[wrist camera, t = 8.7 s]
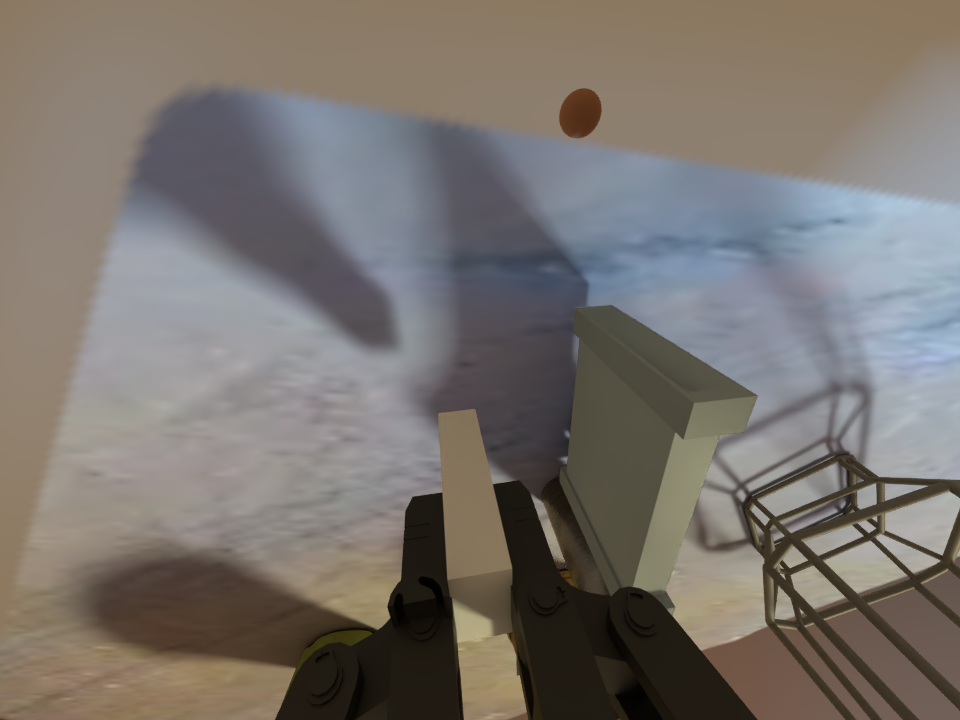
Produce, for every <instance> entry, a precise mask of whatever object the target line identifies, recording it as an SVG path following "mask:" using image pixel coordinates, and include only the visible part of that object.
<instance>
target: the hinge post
mask: <svg viewBox="0 0 960 720" xmlns="http://www.w3.org/2000/svg"><path fill="white" fill-rule="evenodd" d="M559 479H560V476H559V477H557V478H555V479H553V480H552V481H550V482H549V483H548V484H547V485H546V486H545V488H544V490H543V492H542V500H543V503H544V505H545V508H546V511H547V514H548V516H549V519H550V522H551V525H552V527H553V530H554V533H555V535H556V538H557V541H558V544H559V546H560V549H561V552H562V554H563V557H564V560H565V563H566V565H567V568H568V571H569V574H570V576H571V579H572V582H573V584H574V587H576V588H578V589H579V590H583V591H586V592H590V593H596V594H601V595H607V596H611V595H610V593H609V590H608V588H607V586H606V584H605V582H604V579H603V577H602V575H601V573H600V570H599V568H598V566H597V564H596V562H595V559H594V557H593V555H592V553H591V550H590V548H589V546H588V544H587V542H586V539H585V537H584V535H583V533H582V530H581V528H580V526H579V524H578V522H577V519H576V517H575V515H574V513H573V510H572V508H571V506H570V504H569V501H568V499H567V497H566V495H565V493H564V490H563V488H562V486H561V484H560V481H559Z"/></svg>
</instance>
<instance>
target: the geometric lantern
mask: <svg viewBox="0 0 960 720" xmlns="http://www.w3.org/2000/svg"><path fill="white" fill-rule="evenodd" d="M844 460H849V463H847V462H846V461H844ZM837 462H839V464H840V465H842V466H843V467H845V468H846V469H848V470H849V477H850V487H848V488H845V489H843V490H840V491H838V492H835V493H833V494H831V495H828V496H826V497H823V498H821V499H818V500H816V501H814V502H811V503H809V504H806V505H804V506H801V507H799V508H797V509H794V510H792V511H789V512H787V513H784V514H782V515H779V516H777V517H775V516H774V515H773V514H772V513H771V512H770V511H768V510H767V509H766V508H765V507H764V506H763V505H762V504H761V503H760V502H758V501H757V500H760V499H762V498H764V497H766V496H768V495H770V494H772V493H774V492H776V491H778V490H780V489H783V488H785V487H787V486H789V485H791V484H793V483H795V482H797V481H799V480H801V479H803V478H806V477H808V476H810V475H812V474H814V473H816V472H818V471H820V470H822V469H824V468H827V467H829V466H831V465H833V464H835V463H837ZM856 468H858V469H859V470H861V471H862V472H861V471H859V470H858V469H856ZM864 473H865V474H864ZM856 475H857V476H858V477H860V478H861V479H863V480H864V481H862V482H860V483H857V480H856ZM875 483H876V488H877V504H876V505H873V506H870V507H867V508H864V509H861V510H860V509H859V508H857V506H858V505H857V491H858V490H860V489H863V488H865V487H868V486H870V485H872V484H875ZM885 484H905V485H924V486H927V487H925V488H922V489H919V490H916V491H913V492H910V493H907V494H904V495H902V496H899V497H896V498H893V499H890V500H887V501H885ZM949 491H950V492H951V493H953V494H955V495H956V496H958V497H959V498H960V480H945V479H918V478H890V477H878V476H877V475H875V474H874V473H873V472H871V471H870V470H868V469H867V468H866V467H864V466H863V465H861V464H860V463H859V462H857V461H856V458H855V457H854V456H853V455H851V454H849V455H839V456H834V457H833V458H831V459H829V460H827V461H825V462H823V463H821V464H818V465H816V466H814V467H812V468H810V469H808V470H806V471H804V472H802V473H800V474H798V475H796V476H793V477H791V478H789V479H787V480H785V481H783V482H781V483H779V484H777V485H775V486H773V487H771V488H768V489H766V490H764V491H762V492H760V493H758V494H756V495H754V496H751V497H750V499H749V501H748V503H747V505H746V507H745V510H744V511H745V512H746V516H747V519H748V522H749V526H750V529H751V533H752V536H753V539H754V543H755V546H756V549H757V551H758V552H759V553H760V554H761V555H762V556H763V558H764V564H763V584H764V603H765V620H766V623H767V625H768V626H769V627H770V629H771V630H772V631H773V632H774V634H775V635H776V636H777V637H778V638H779V640H780V641H781V642H782V643H783V645H784V646H785V647H786V648H787V649H788V651H789V652H790V653H791V654H792V656H793V657H794V658H795V659H796V660H797V662H798V663H799V664H800V665H801V666H802V668H803V669H804V670H805V671H806V672H807V674H808V675H809V676H810V677H811V679H813V681H814V682H815V683H816V685H817V686H818V687H819V688H820V690H821V691H822V692H823V693H824V694H825V696H826V697H827V698H828V699H829V700H830V702H831V703H832V704H833V705H834V706H835V708H836V709H837V710H838V711H839V713H840V714H841V715H842V716H843V717H844V718H845V720H856V719H855V718H854V716H853V715H852V714H851V713H850V711H849V710H848V709H847V708H846V707H845V706H844V704H842V702H841V701H840V700H839V699H838V697H837V696H836V695H835V694H834V693H833V692H832V690H831V689H830V688H829V687H828V686H827V684H826V683H825V682H824V681H823V680H822V678H821V677H820V676H819V675H818V674H817V673H816V672H815V670H814V669H813V668H812V667H811V665H810V664H809V663H808V662H807V661H806V659H805V658H804V657H803V656H802V655H801V653H800V652H799V651H798V650H797V649H796V648H795V646H794V645H793V644H792V643H791V642H790V640H789V639H788V638H787V637H786V636H785V634H784V633H783V632H782V631H781V630H780V629H779V628H786V629H794V630H795V629H796V630H799V632H800V633H801V634H802V635H803V637H804V638H805V639H806V640H807V642H808V643H809V644H810V645H811V647H812V648H813V649H814V650H815V651H816V653H817V654H818V655H819V656H820V658H821V659H822V660H823V661H824V663H825V664H826V665H827V666H828V668H829V669H830V670H831V671H832V672H833V674H834V675H835V676H836V677H837V679H838V680H839V681H840V682H841V684H842V685H843V686H844V687H845V688H846V690H847V691H848V692H849V693H850V695H851V696H852V697H853V698H854V700H855V701H856V702H857V703H858V704H859V706H860V707H861V708H862V709H863V711H864V712H865V713H866V714H867V716H868V717H869V718H870V719H871V720H882V719H881V718H880V717H879V715H878V714H877V713H876V712H875V711H874V710H873V708H872V707H871V706H870V705H869V704H868V702H867V701H866V700H865V699H864V698H863V696H862V695H861V694H860V693H859V692H858V691H857V690H856V688H855V687H854V686H853V685H852V684H851V682H850V681H849V680H848V678H847V677H846V676H845V675H844V674H843V672H842V671H841V670H840V669H839V668H838V666H837V665H836V664H835V663H834V662H833V660H832V659H831V658H830V657H829V656H828V654H827V653H826V652H825V651H824V650H823V648H822V647H821V646H820V645H819V643H818V642H817V641H816V640H815V639H814V638H813V637H812V635H811V634H810V633H809V632H808V630H807V629H806V628H805V627H808V626H810V625H813V624H815V625H816V626H817V627H818V628H819V629H820V630H821V631H822V632H823V633H824V635H825V636H826V637H827V638H828V639H829V640H830V641H831V642H832V643H833V644H834V646H835V647H836V648H837V649H838V650H839V651H840V652H841V653H842V654H843V655H844V656H845V657H846V659H847V660H848V661H849V662H850V663H851V664H852V665H853V666H854V667H855V668H856V669H857V671H858V672H859V673H860V674H861V675H862V676H863V677H864V678H865V679H866V680H867V681H868V682H869V684H870V685H871V686H872V687H873V688H874V689H875V690H876V691H877V692H878V693H879V694H880V695H881V696H882V698H883V699H884V700H885V701H886V702H887V703H888V704H889V705H890V706H891V707H892V708H893V710H894V711H896V713H897V714H898V715H899V716H900V717H901V718H902V719H903V720H919V719H918V718H917V717H916V716H915V715H914V714H913V713H912V712H911V711H910V710H909V709H908V708H907V707H906V705H905V704H904V703H903V702H902V701H901V700H900V699H899V698H898V697H897V696H896V695H895V694H894V693H893V692H892V691H891V690H890V689H889V688H888V687H887V685H886V684H885V683H884V682H883V681H882V680H881V679H880V678H879V677H878V676H877V675H876V674H875V673H874V672H873V671H872V670H871V669H870V668H869V667H868V665H867V664H866V663H865V662H864V661H863V660H862V659H861V658H860V657H859V656H858V655H857V654H856V653H855V652H854V651H853V650H852V649H851V648H850V647H849V645H848V644H847V643H846V642H845V641H844V640H843V639H842V638H841V637H840V636H839V635H838V634H837V633H836V632H835V631H834V630H833V629H832V628H831V627H830V626H829V624H828V623H827V622H825V620H827V619H830V618H833V617H836V616H838V615H841V614H844V613H847V612H850V611H852V610H855V609H858V610H859V611H860V612H861V613H862V614H863V615H864V616H865V617H866V618H867V619H868V620H869V621H870V622H871V623H872V624H873V625H874V626H875V627H876V628H877V629H878V630H879V631H880V632H881V633H882V634H884V636H885V637H886V638H887V639H888V640H889V641H890V642H891V643H893V645H894V646H896V648H897V649H898V650H900V652H901V653H902V654H903V655H905V656H906V657H907V658H908V660H909V661H911V662H912V663H913V664H914V665H915V666H916V667H917V668H918V669H919V670H920V671H921V672H922V673H923V674H924V675H925V676H926V677H927V678H928V679H929V680H930V681H931V682H932V683H933V684H934V685H935V686H936V687H937V688H938V689H939V690H940V691H941V692H942V693H943V694H944V695H945V696H946V697H947V698H948V699H949V700H950V701H951V702H952V703H953V704H954V705H955V706H956V707H957V708H958V709H959V710H960V692H958V690H957V689H956V688H955V687H953V686H952V685H951V684H950V683H949V682H948V681H947V680H946V679H945V678H944V677H943V676H942V675H941V674H940V673H939V672H938V671H937V670H936V669H935V668H933V666H931V664H930V663H929V662H927V661H926V660H925V659H924V658H923V657H922V656H921V655H920V654H919V653H918V652H917V651H916V650H915V649H914V648H913V647H912V646H911V645H909V643H908V642H906V640H904V639H903V638H902V637H901V636H900V635H899V634H898V633H897V632H896V631H895V630H894V629H893V628H892V627H891V626H890V625H889V624H888V623H887V622H886V621H885V620H884V619H883V618H882V617H881V616H880V615H879V614H878V613H876V612H875V611H874V610H873V609H872V608H871V607H870V606H869V604H872V603H875V602H878V601H880V600H883V599H886V598H889V597H891V596H894V595H897V594H900V593H903V592H905V591H908V590H911V589H914V588H915V589H916V590H917V591H918V592H920V593H921V594H922V595H923V596H924V597H925V598H926V599H927V600H929V601H930V602H931V603H932V604H933V605H935V607H937V608H938V609H939V610H940V611H941V612H942V613H943V614H945V615H946V616H947V617H948V618H949V619H950V620H951V621H953V622H954V623H955V624H956V625H957V626H958V627H959V628H960V617H959V616H958V615H957V614H956V613H954V612H953V611H952V610H951V609H950V608H949V607H947V606H946V605H945V604H944V603H943V602H941V601H940V600H939V599H938V598H937V597H936V596H934V595H933V594H932V593H931V592H930V591H929V590H927V589H926V588H925V587H924V586H923V585H922V584H923V583H925V582H927V581H929V580H931V579H933V578H935V577H937V576H939V575H941V574H943V573H944V572H946V571H948V570H950V571H951V572H952V573H953V574H955V575H956V576H957V577H958V578H959V579H960V568H959V567H958V566H956V565H955V564H954V562H955V559H956V557H957V554H958V552H959V549H960V509H959V512H958V515H957V518H956V521H955V523H954V526H953V529H952V532H951V534H950V537H949V540H948V543H947V545H946V548H945V551H944V554H943V556H942V555H940V554H937V553H935V552H933V551H931V550H928V549H926V548H924V547H922V546H919V545H917V544H915V543H913V542H910V541H908V540H906V539H903V538H901V537H899V536H897V535H894V534H892V533H890V532H888V531H885V513H888V512H891V511H894V510H896V509H899V508H902V507H905V506H908V505H911V504H914V503H917V502H920V501H923V500H926V499H928V498H931V497H934V496H937V495H940V494H943V493H946V492H949ZM848 494H850V499H851V504H850V506H849V507H848V508H847V509H846V510H845V511H844V513H843V514H842V515H840V516H838V517H835V518H833V519H831V520H829V521H827V522H824V523H821V524H818V525H815V526H813V527H810V528H807V529H804V530H801V531H798V532H795V533H792V534H791V533H790V532H789V531H788V530H787V529H786V528H785V527H784V526H783V525H782V524H781V523H780V522H782V521H784V520H786V519H789V518H791V517H794V516H796V515H799V514H801V513H804V512H806V511H809V510H811V509H814V508H816V507H818V506H821V505H823V504H826V503H828V502H831V501H833V500H836V499H838V498H841V497H843V496H845V495H848ZM754 505H755V506H756V507H758V508H759V509H760V510H761V511H762V512H763V513H764V514H765V515H766V516H767V517H768V518H769V519H770V520H769V522H768V523H767V524H766V526H765V525H764V524H763V523H762V522H761V521H760V520H759V519H758V518H757V517H756V516H755V515H754V514H753V513H752V511H751V510H752V508H753V506H754ZM853 511H855V512H853ZM852 512H853V513H852ZM876 516H877V522H876V521H875V520H873V519H872V518H873V517H876ZM864 520H867V521H868V522H869V523H870V524H872V525H873V526H874V527H876V528H877V529H875V530H873V531H872V532H870V533H868V532H867V531H865V530H864V529H863V528H862V527H861V526H860V525H859V524H858V523H859V522H862V521H864ZM754 522H755V523H756V524H757V525H758V526H759V528H760V529H761V530H762V531H763V532H764V548H761V545H760V541H759V537H758V534H757V530H756V527H755V523H754ZM850 525H853V526H854V527H855V528H856V529H857V530H858V531H859V532H860V533H862V534H863V535H864V536H863V537H861V538H859V539H857V540H854V541H852V542H850V543H847V544H845V545H843V546H840V547H838V548H836V549H834V550H831V551H829V552H827V553H824V554H822V555H820V556H817V555H816V554H815V553H814V552H813V551H812V550H811V549H810V548H809V547H808V546H807V545H806V544H805V543H803V541H806V540H809V539H812V538H815V537H818V536H821V535H824V534H827V533H830V532H832V531H835V530H838V529H841V528H844V527H847V526H850ZM774 526H776V527H777V528H778V529H779V530H780V531H781V532H782V533H783V534H784V535H785V538H784V539H783V540H782V541H781V542H780V543H779V544H777V545H774V541H773V536H772V532H771V530H772V528H773V527H774ZM880 534H883V535H885V536H887V537H889V538H892V539H894V540H896V541H898V542H901V543H903V544H905V545H907V546H910V547H912V548H914V549H916V550H918V551H921V552H923V553H925V554H927V555H930V556H932V557H934V558H936V559H939V560H941V561H940V562H939V563H937V564H935V565H934V566H932V567H930V568H928V569H926V570H925V571H923V572H921V573H919V574H918V575H914V574H913V573H912V572H911V571H910V570H909V569H908V568H907V567H906V566H905V565H904V564H902V563H901V562H900V561H899V560H898V559H897V558H896V557H895V556H894V555H893V554H892V553H891V552H890V551H889V550H888V549H887V548H886V547H884V546H883V545H882V544H881V543H880V542H879V541H878V540H877V539H876V538H875V537H877V536H878V535H880ZM870 540H871V541H872V542H873V543H874V544H875V545H876V546H877V547H878V548H879V549H880V550H881V551H882V552H883V553H884V554H886V555H887V556H888V557H889V558H890V559H891V560H892V561H893V562H894V563H895V564H896V565H897V566H898V567H899V568H900V569H901V570H902V571H903V572H904V573H906V574H907V575H908V576H909V577H910V579H909V580H906V581H903V582H900V583H898V584H895V585H892V586H890V587H887V588H884V589H881V590H878V591H875V592H873V593H870V594H867V595H864V596H862V597H860V596H859V595H858V594H857V593H856V592H855V591H854V590H853V589H852V588H851V587H849V586H848V585H847V584H846V583H845V582H844V581H843V580H842V579H841V578H840V577H839V576H838V575H837V574H836V573H835V572H834V571H833V570H832V569H831V568H830V567H829V566H828V565H827V564H825V563H824V562H823V561H824V560H826V559H829V558H831V557H833V556H836V555H838V554H840V553H843V552H845V551H847V550H850V549H852V548H854V547H857V546H859V545H861V544H864V543H866V542H868V541H870ZM793 546H795V547H796V548H797V549H798V550H799V551H800V552H801V553H802V554H803V555H804V556H805V557H806V558H807V559H808V561H806V562H804V563H801V564H799V565H797V566H795V567H792V568H789V567H788V566H787V565H786V564H785V563H784V561H783V560H782V559H783V558H784V557H785V556H786V554H787V553H788V552H789V551H790V549H791V548H792V547H793ZM779 564H780V565H781V566H782V567H783V568H784V569H781V568H780V566H779ZM813 565H814V566H815V567H816V568H817V569H818V570H819V571H820V572H821V573H822V574H823V575H824V576H825V577H826V578H827V579H828V580H829V581H830V582H831V583H832V584H833V585H834V586H835V587H836V588H837V589H838V590H839V591H840V592H841V593H842V594H843V595H844V596H845V597H846V598H847V599H848V600H849V601H848V602H845V603H842V604H839V605H837V606H834V607H831V608H828V609H826V610H823V611H820V612H816V611H815V610H814V609H813V608H812V607H811V606H810V605H809V604H808V603H807V602H806V601H805V600H804V599H803V598H802V597H801V595H800V594H799V593H798V592H797V591H796V590H795V589H794V587H793V583H792V579H791V576H790V575H792V574H794V573H796V572H799V571H801V570H803V569H806V568H808V567H810V566H813ZM780 573H781V574H784V575H785V579H786V580H785V579H784V578H783V577H782V576H781V575H780ZM778 585H779V586H780V588H781V589H782V590H783V591H784V592H785V593H786V594H787V595H788V596H789V597H790V598H791V601H792V605H793V609H794V613H795V616H796V620H795V621H788V620H780V619H774V617H775V609H776V601H777V593H778ZM799 608H800V609H801V610H802V611H803V612H804V613H805V614H806V615H807V616H806V617H804V618H802V617H801V613H800V609H799Z"/></svg>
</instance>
